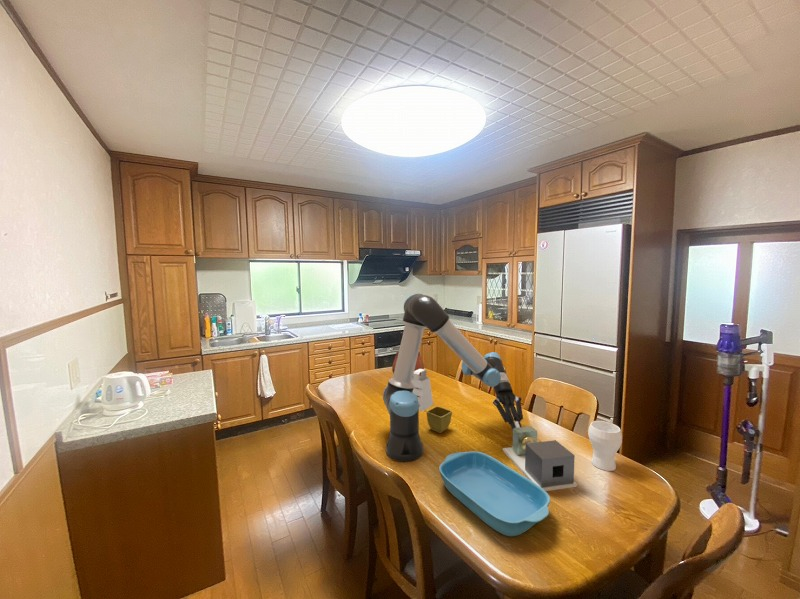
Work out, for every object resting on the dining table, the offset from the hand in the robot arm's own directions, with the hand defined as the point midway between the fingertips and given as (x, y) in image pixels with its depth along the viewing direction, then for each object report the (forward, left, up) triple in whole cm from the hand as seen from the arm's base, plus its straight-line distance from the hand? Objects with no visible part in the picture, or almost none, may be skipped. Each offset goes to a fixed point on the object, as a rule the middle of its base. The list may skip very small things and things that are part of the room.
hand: (520, 438), depth 132 cm
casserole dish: (-35, -3, -6) cm, 36 cm away
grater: (+10, +58, -5) cm, 59 cm away
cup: (+10, -28, -5) cm, 30 cm away
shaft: (-7, -8, -4) cm, 11 cm away
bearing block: (-12, -14, -4) cm, 19 cm away
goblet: (+22, +76, -5) cm, 80 cm away
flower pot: (-6, +35, -5) cm, 36 cm away
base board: (-7, -9, -5) cm, 13 cm away
